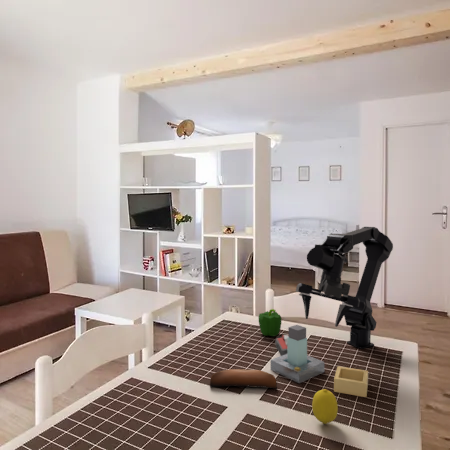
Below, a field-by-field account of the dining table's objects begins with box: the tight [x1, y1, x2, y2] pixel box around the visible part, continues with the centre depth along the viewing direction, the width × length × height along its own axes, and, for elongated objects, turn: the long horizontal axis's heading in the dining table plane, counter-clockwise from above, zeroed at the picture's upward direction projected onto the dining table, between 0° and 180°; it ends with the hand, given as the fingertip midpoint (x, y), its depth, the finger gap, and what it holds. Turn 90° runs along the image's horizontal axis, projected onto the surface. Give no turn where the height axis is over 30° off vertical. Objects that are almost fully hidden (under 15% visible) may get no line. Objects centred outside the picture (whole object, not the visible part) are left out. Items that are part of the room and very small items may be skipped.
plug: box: [287, 324, 308, 367], centre depth 113 cm, size 4×4×13 cm
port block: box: [270, 354, 325, 384], centre depth 113 cm, size 11×11×3 cm
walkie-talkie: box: [274, 334, 288, 356], centre depth 131 cm, size 9×4×20 cm
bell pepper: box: [258, 308, 282, 337], centre depth 144 cm, size 8×8×10 cm
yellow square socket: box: [333, 365, 369, 398], centre depth 103 cm, size 8×8×4 cm
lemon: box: [311, 388, 339, 425], centre depth 86 cm, size 6×6×8 cm
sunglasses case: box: [209, 368, 278, 390], centre depth 106 cm, size 18×7×7 cm
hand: (321, 322), depth 118 cm, fingers open, 9 cm apart
